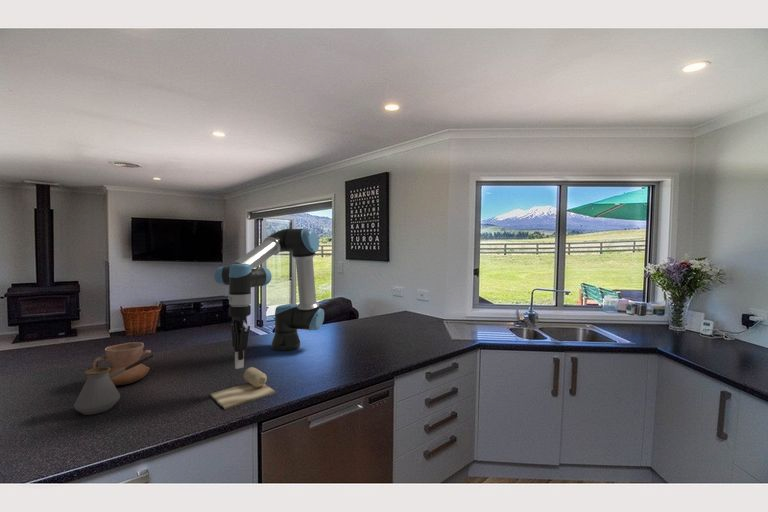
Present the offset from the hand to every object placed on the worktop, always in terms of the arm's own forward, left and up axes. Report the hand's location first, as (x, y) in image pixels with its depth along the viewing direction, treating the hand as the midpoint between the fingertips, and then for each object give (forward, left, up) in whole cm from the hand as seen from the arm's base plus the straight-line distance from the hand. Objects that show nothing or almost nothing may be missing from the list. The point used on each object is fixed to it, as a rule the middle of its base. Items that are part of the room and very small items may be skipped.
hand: (239, 367), depth 123 cm
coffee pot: (-17, -34, -9) cm, 39 cm away
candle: (-5, +6, -5) cm, 9 cm away
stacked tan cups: (-39, -30, -9) cm, 50 cm away
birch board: (+4, 0, -9) cm, 10 cm away
